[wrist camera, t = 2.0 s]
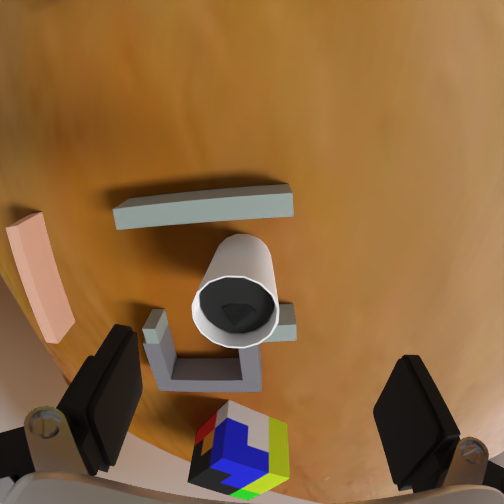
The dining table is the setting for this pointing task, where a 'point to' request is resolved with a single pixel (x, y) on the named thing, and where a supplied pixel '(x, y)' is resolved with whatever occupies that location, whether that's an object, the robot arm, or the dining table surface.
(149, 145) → the dining table surface
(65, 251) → the dining table surface
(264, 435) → the puzzle toy
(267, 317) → the white cup
